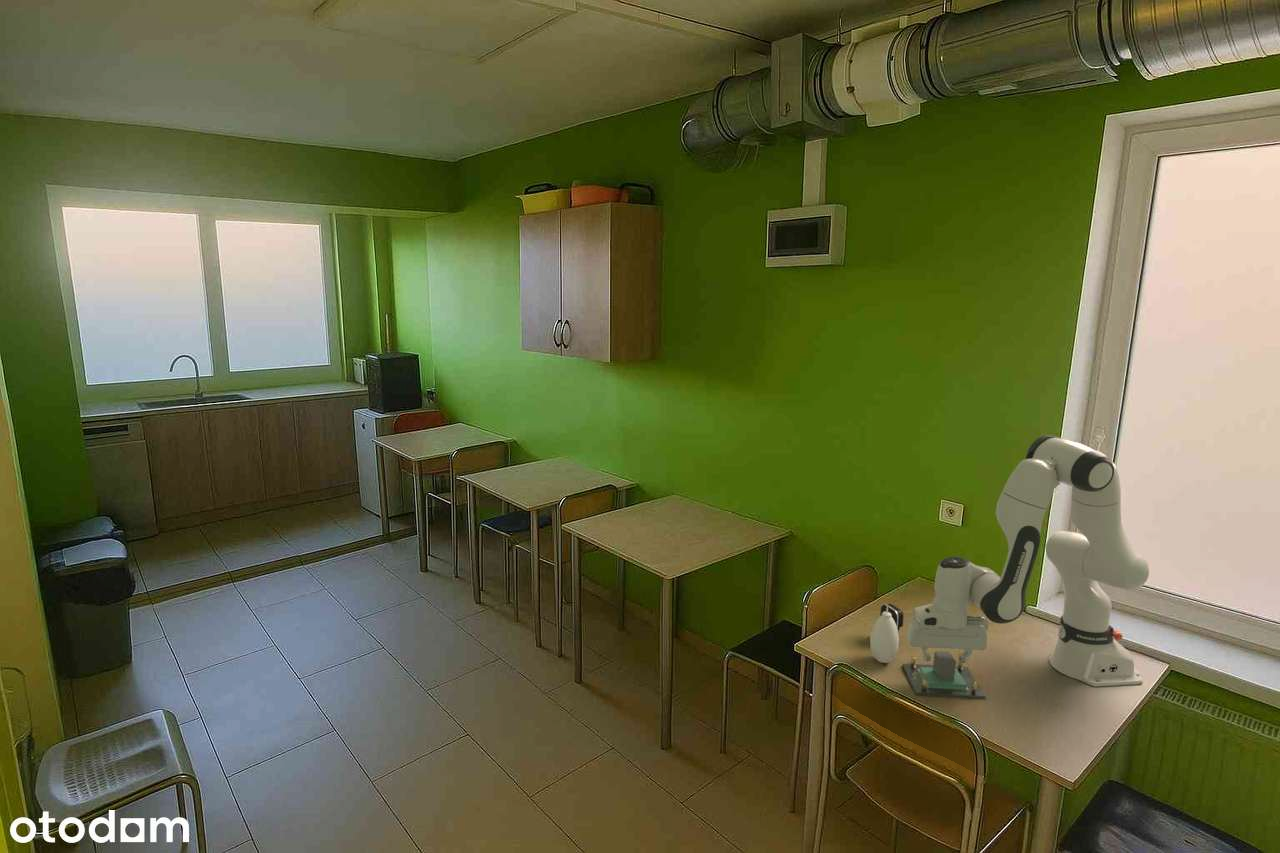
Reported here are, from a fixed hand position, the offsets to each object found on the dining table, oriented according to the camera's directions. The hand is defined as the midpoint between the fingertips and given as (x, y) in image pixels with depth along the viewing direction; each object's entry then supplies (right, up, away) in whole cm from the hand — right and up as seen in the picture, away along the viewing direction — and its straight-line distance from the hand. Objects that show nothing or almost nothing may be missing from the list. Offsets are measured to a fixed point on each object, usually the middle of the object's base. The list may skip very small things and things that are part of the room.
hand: (944, 660), depth 192 cm
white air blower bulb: (-13, -4, +12) cm, 18 cm away
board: (0, -5, +1) cm, 6 cm away
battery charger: (-7, -2, +23) cm, 24 cm away
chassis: (0, -6, +1) cm, 6 cm away
